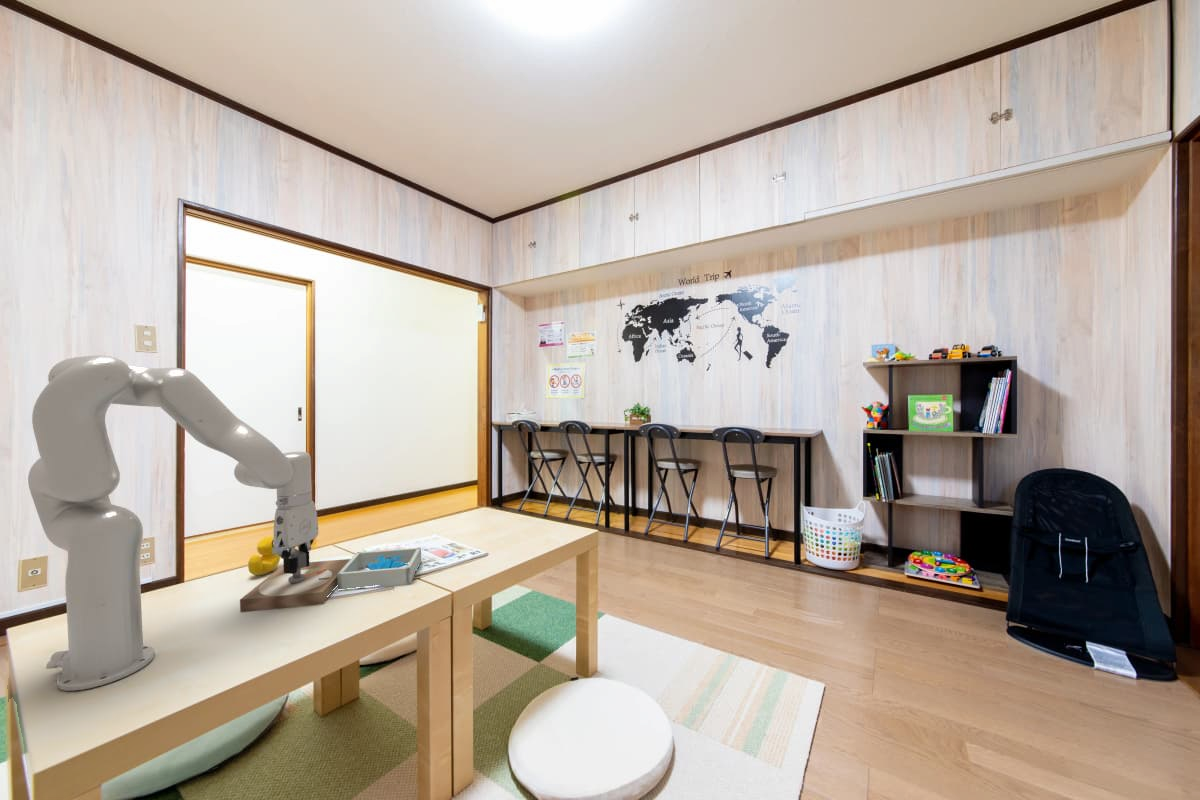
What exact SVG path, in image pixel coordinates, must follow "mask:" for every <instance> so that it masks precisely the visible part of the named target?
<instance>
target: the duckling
mask: <svg viewBox="0 0 1200 800" xmlns="http://www.w3.org/2000/svg"><path fill="white" fill-rule="evenodd" d="M273 548H274V536H266V537H264V538H261V539H260V541H259V542H258V544H257V547H256V550H257V551H256V552H257V553H258V554H254V555H252V556H251V557H250V558H249V559H248V567H247V568H248V572H249V573H250V574H252V575H254V576H262V575H266V574H268V573H270V572H272V571H274V570H275V569H276V568H277V567H278V565H279V562H280V559H281V556H279V555H277V554H273V553H272V550H273ZM259 554H260V555H261V556H260V555H259Z"/></svg>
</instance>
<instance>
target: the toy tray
mask: <svg viewBox="0 0 1200 800" xmlns="http://www.w3.org/2000/svg"><path fill="white" fill-rule="evenodd" d="M399 555H403V556H402V557H400V558H399V559H397V560H396V561H398V562H406V563H408V562H409V564H407V565H406V566H401V567H399V568H389V569H377V570H371V569H368V568H367V567H366V565H367V564H370V563H376V562H380V561H379V559H378V558H377V556H383V557H384V558H383V559H385V558H391V559H392V558H395V556H399ZM350 559H351V560H350V561H349V562H348V563H347V564H346V565H345V566H344V567H343V568H342V570H341V571H340V572H339V573H338V574H337V583H338V587H337V590H338V589H347V588H356V587H364V586H373V585H374V586H375V585H380V586H387V587H398V586H406V585H408V586H409V585H411V584H412V581H413V579H414V577H415V576H414V574H415V571H416V569H417V567H418V565H419V564H420V565H421V563H422V548H421V547H420V546H419V547H410V548H407V547H406V548H396V549H395V548H394V549H385V550H372V551H358V552H356V553H355V554H354V555H353V556H352V557H351V558H350ZM420 562H421V563H420ZM360 569H367V570H360ZM415 575H416V574H415Z"/></svg>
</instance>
